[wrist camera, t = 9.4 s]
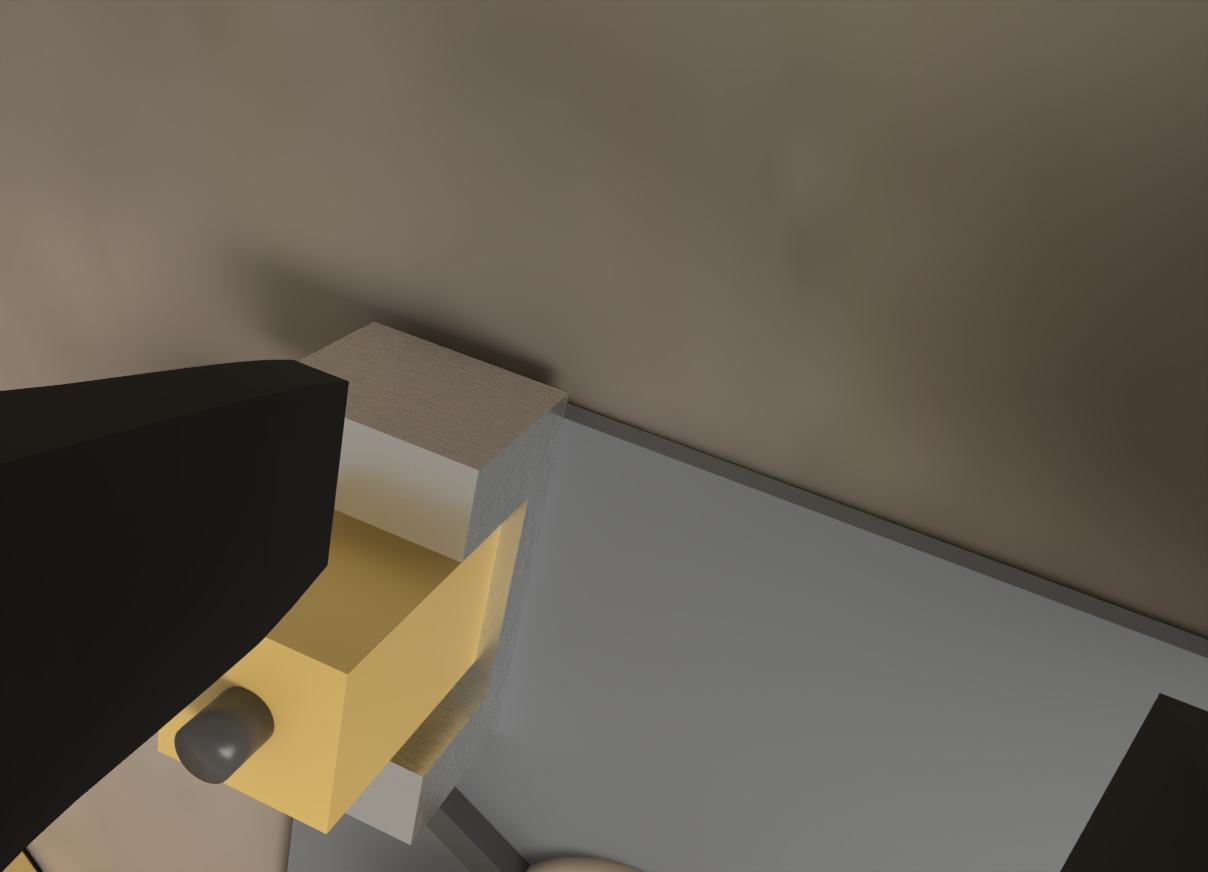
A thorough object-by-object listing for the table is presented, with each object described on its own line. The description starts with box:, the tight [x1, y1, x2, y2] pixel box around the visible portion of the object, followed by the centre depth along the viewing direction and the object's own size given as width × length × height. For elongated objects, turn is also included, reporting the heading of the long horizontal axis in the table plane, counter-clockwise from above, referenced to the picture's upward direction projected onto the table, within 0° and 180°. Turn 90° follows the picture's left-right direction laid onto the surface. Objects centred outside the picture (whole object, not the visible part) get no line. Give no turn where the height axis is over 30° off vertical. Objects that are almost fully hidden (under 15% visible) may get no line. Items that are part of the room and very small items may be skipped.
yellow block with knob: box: [158, 510, 502, 834], centre depth 19 cm, size 3×3×6 cm
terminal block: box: [298, 322, 569, 845], centre depth 21 cm, size 4×8×4 cm, turn 167°
